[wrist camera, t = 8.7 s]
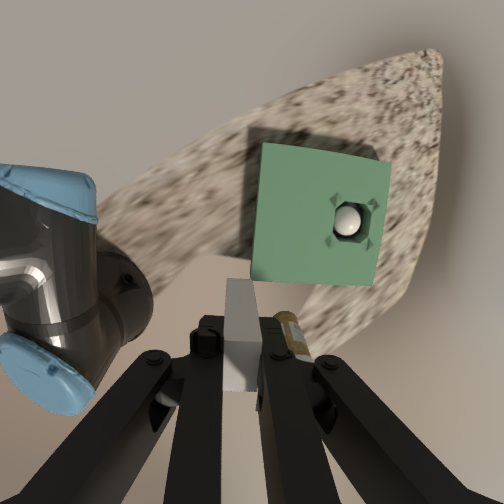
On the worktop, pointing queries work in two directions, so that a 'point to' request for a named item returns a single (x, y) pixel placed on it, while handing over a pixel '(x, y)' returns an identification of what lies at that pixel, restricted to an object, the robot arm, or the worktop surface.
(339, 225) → the ball
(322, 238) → the putting board
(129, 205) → the worktop surface
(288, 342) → the sprinkles bottle
